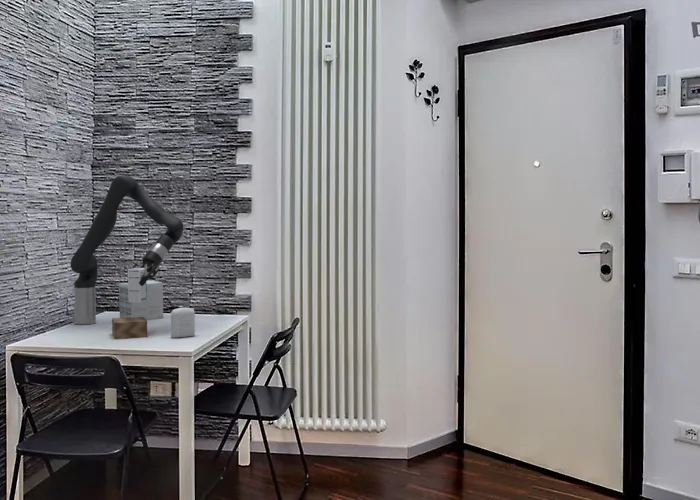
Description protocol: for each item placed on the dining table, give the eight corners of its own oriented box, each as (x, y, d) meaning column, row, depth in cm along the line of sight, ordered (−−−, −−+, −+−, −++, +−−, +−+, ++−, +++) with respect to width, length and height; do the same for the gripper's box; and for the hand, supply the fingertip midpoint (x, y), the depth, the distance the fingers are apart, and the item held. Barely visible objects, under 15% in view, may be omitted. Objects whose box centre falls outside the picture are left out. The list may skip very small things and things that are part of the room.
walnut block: (114, 339, 280) (114, 323, 280) (112, 334, 292) (112, 318, 291) (147, 337, 285) (147, 321, 285) (143, 332, 297) (143, 316, 297)
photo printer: (192, 334, 291) (192, 306, 291) (196, 336, 288) (196, 307, 287) (169, 337, 285) (169, 308, 285) (173, 338, 282) (172, 309, 281)
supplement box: (150, 315, 345) (150, 280, 344) (164, 318, 336) (163, 282, 335) (118, 319, 333) (118, 282, 332) (131, 322, 324) (131, 284, 323)
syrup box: (140, 302, 288) (140, 269, 287) (127, 302, 289) (127, 268, 288) (146, 301, 294) (146, 267, 293) (134, 300, 295) (134, 267, 294)
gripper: (139, 249, 300) (118, 277, 291) (162, 250, 293) (140, 279, 283) (149, 260, 305) (128, 288, 296) (171, 262, 297) (150, 290, 288)
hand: (134, 284), depth 290 cm, fingers closed on syrup box, 7 cm apart
